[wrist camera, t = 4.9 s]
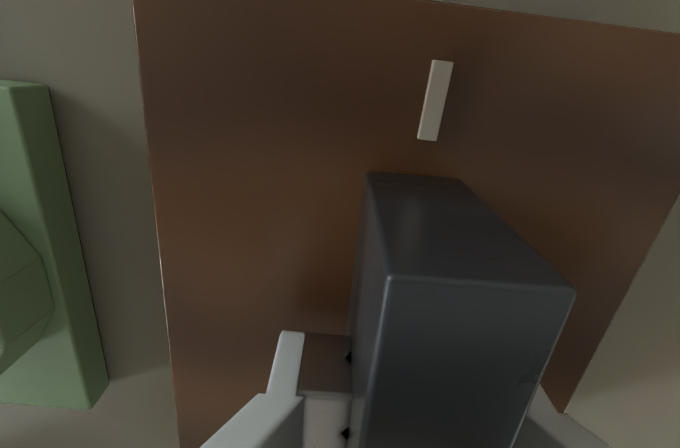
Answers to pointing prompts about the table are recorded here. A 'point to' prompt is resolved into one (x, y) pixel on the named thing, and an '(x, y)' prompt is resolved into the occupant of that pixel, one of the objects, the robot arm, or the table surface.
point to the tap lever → (445, 318)
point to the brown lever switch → (386, 162)
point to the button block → (42, 265)
